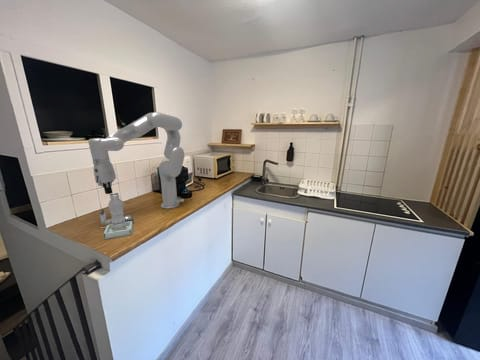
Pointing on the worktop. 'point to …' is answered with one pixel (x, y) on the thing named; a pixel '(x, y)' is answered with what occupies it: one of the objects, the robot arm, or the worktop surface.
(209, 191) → the worktop surface
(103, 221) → the crank
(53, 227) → the worktop surface
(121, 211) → the metal bottle
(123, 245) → the worktop surface
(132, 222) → the crank base
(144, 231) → the worktop surface
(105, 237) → the tray
